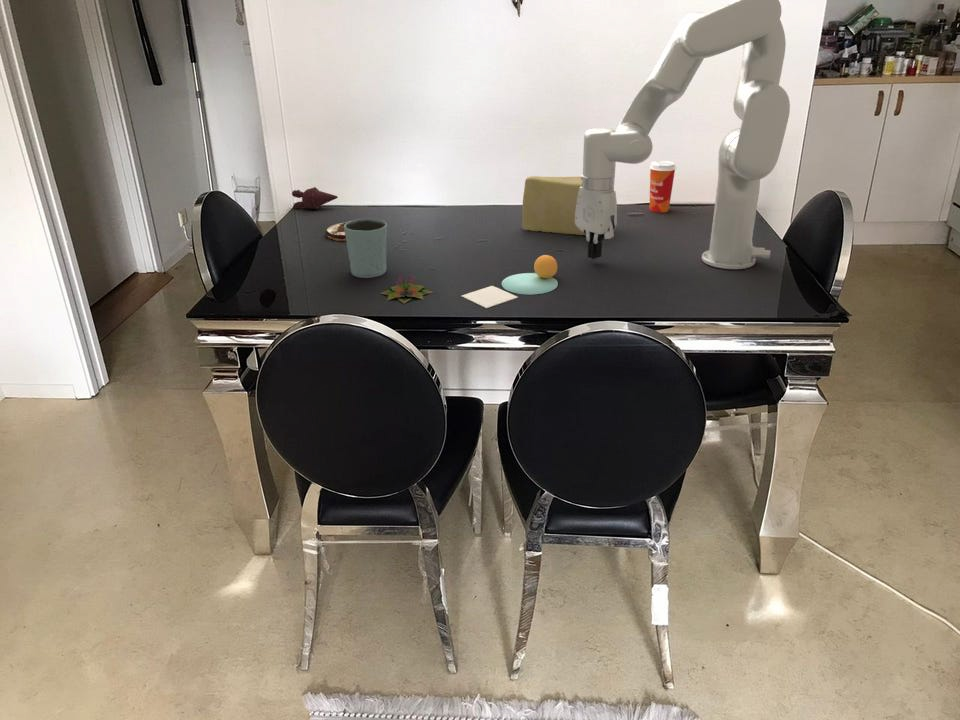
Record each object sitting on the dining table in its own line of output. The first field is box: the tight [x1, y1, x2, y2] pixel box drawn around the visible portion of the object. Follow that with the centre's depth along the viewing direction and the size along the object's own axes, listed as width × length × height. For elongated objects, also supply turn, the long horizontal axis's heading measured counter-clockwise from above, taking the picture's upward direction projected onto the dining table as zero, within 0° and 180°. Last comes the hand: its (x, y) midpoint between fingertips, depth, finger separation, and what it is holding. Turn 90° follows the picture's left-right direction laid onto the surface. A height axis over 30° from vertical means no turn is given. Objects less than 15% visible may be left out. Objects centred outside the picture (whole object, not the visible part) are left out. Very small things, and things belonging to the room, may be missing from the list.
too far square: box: [461, 285, 519, 309], centre depth 167 cm, size 9×9×1 cm
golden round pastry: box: [325, 220, 350, 242], centre depth 209 cm, size 15×15×4 cm
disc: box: [501, 272, 559, 296], centre depth 173 cm, size 13×13×1 cm
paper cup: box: [649, 160, 677, 214], centre depth 220 cm, size 8×8×14 cm
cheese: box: [521, 175, 586, 237], centre depth 205 cm, size 22×10×15 cm, turn 78°
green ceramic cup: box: [344, 218, 388, 279], centre depth 180 cm, size 10×10×12 cm
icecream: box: [291, 186, 338, 210], centre depth 232 cm, size 7×7×15 cm
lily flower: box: [379, 274, 435, 304], centre depth 169 cm, size 12×12×5 cm
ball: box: [533, 254, 558, 279], centre depth 175 cm, size 6×6×6 cm
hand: (594, 256), depth 184 cm, fingers closed
